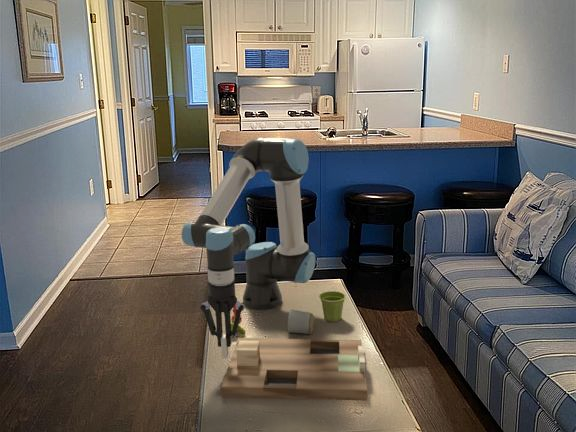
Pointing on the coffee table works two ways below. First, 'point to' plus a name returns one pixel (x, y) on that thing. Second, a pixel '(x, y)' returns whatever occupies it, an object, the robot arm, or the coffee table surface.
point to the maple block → (248, 353)
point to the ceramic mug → (300, 322)
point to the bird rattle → (239, 321)
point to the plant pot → (332, 305)
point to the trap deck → (300, 370)
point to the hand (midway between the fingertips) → (225, 355)
